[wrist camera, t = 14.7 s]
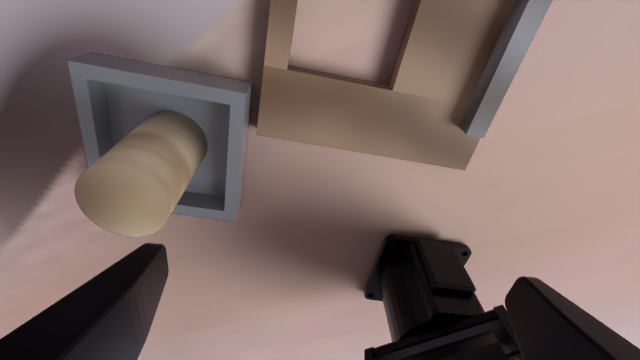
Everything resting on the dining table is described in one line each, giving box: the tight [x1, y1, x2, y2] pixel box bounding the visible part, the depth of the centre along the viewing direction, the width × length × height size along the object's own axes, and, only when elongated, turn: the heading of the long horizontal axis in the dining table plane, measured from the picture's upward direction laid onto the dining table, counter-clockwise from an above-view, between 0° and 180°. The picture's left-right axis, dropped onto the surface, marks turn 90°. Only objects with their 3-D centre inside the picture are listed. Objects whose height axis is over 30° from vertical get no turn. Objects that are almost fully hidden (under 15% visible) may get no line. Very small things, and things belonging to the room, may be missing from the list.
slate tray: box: [67, 52, 252, 222], centre depth 18 cm, size 8×8×2 cm
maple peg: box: [75, 111, 208, 237], centre depth 16 cm, size 4×4×6 cm
